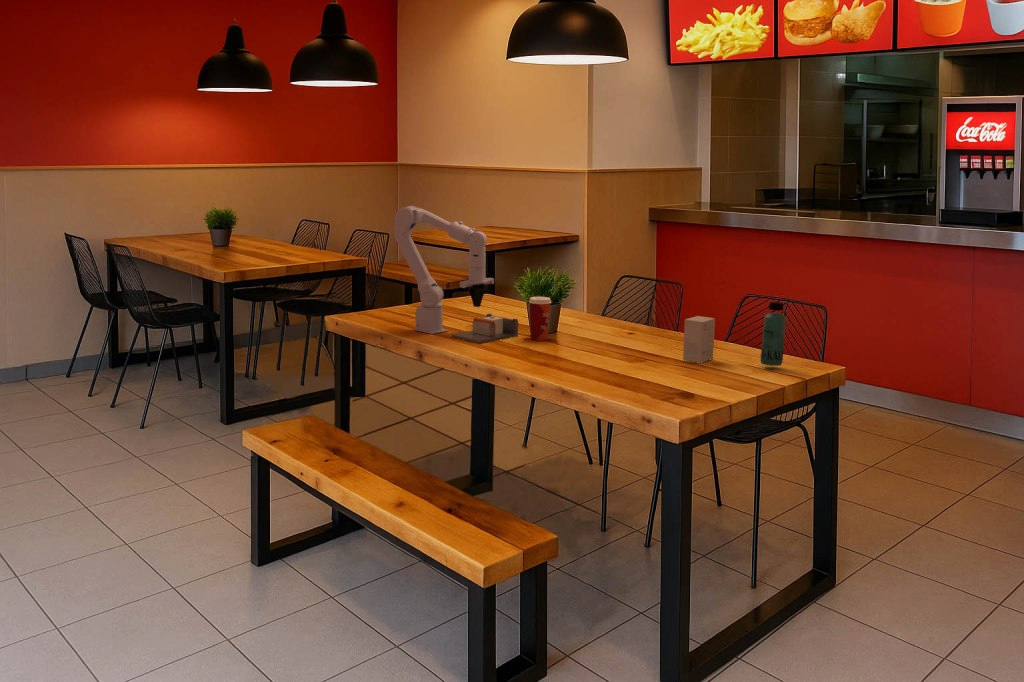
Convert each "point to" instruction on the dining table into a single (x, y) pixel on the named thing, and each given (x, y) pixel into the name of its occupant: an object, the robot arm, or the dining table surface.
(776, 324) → the beverage bottle
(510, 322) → the press
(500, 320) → the block
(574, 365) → the dining table surface
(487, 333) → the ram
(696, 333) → the small box
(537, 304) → the paper cup
